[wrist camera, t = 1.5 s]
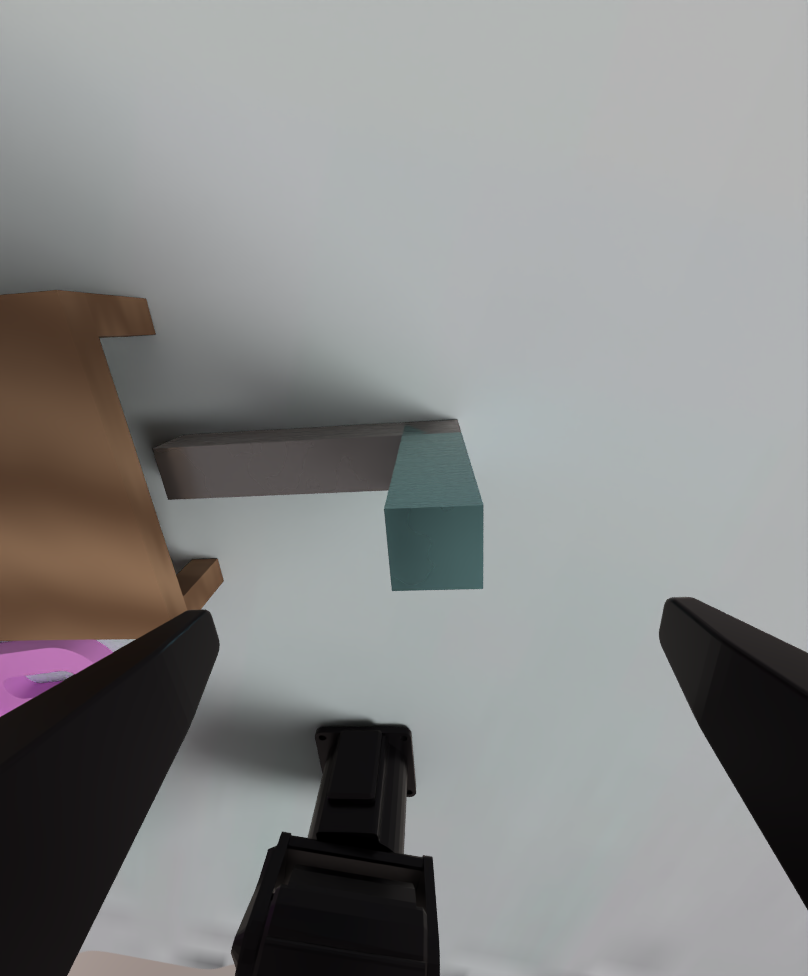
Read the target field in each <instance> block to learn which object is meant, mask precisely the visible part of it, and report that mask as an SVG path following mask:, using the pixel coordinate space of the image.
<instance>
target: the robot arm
mask: <svg viewBox="0 0 808 976" xmlns="http://www.w3.org/2000/svg"><path fill="white" fill-rule="evenodd" d="M659 639H660V643H661V646H662V648H663V651H664V653H665V655H666V657H667V659H668V661H669V663H670V665H671V668H672V670H673V672H674V674H675V676H676V678H677V680H678V683H679V685H680V687H681V689H682V691H683V693H684V695H685V698H686V700H687V702H688V704H689V706H690V708H691V710H692V712H693V714H694V716H695V718H696V720H697V722H698V724H699V726H700V728H701V730H702V732H703V733H704V735H705V737H706V739H707V740H708V742H709V744H710V746H711V747H712V749H713V751H714V752H715V754H716V756H717V757H718V759H719V761H720V762H721V764H722V766H723V768H724V769H725V771H726V773H727V774H728V776H729V778H730V779H731V781H732V783H733V784H734V786H735V788H736V790H737V791H738V793H739V795H740V796H741V798H742V800H743V801H744V803H745V805H746V806H747V808H748V810H749V812H750V813H751V815H752V817H753V818H754V820H755V822H756V823H757V825H758V827H759V828H760V830H761V832H762V833H763V835H764V837H765V839H766V840H767V842H768V844H769V845H770V847H771V849H772V850H773V852H774V854H775V855H776V857H777V859H778V861H779V862H780V864H781V866H782V867H783V869H784V871H785V872H786V874H787V876H788V877H789V879H790V881H791V883H792V884H793V886H794V888H795V889H796V891H797V893H798V894H799V896H800V898H801V899H802V901H803V903H804V905H805V906H806V908H807V910H808V653H807V652H805V651H803V650H801V649H799V648H797V647H794V646H792V645H790V644H788V643H786V642H784V641H782V640H780V639H778V638H776V637H774V636H772V635H770V634H767V633H765V632H763V631H761V630H759V629H757V628H755V627H753V626H751V625H749V624H747V623H745V622H743V621H741V620H738V619H736V618H734V617H732V616H730V615H728V614H726V613H724V612H722V611H720V610H718V609H716V608H714V607H711V606H709V605H707V604H705V603H703V602H701V601H699V600H697V599H695V598H692V597H672V598H669V599H667V600H666V602H665V604H664V609H663V614H662V619H661V624H660V629H659ZM219 646H220V644H219V638H218V635H217V631H216V628H215V625H214V622H213V618H212V615H211V613H210V612H209V611H208V610H188V611H185V612H183V613H181V614H180V615H178V616H176V617H174V618H173V619H171V620H169V621H167V622H166V623H164V624H162V625H160V626H159V627H157V628H155V629H153V630H152V631H150V632H148V633H146V634H145V635H143V636H141V637H139V638H138V639H136V640H134V641H132V642H131V643H129V644H127V645H125V646H124V647H122V648H120V649H118V650H117V651H115V652H113V653H111V654H110V655H108V656H106V657H104V658H102V659H101V660H99V661H97V662H95V663H94V664H92V665H90V666H88V667H87V668H85V669H83V670H81V671H80V672H78V673H76V674H74V675H73V676H71V677H69V678H67V679H66V680H64V681H62V682H60V683H59V684H57V685H55V686H53V687H52V688H50V689H48V690H46V691H45V692H43V693H41V694H39V695H38V696H36V697H34V698H32V699H31V700H29V701H27V702H25V703H24V704H22V705H20V706H18V707H17V708H15V709H13V710H11V711H10V712H8V713H6V714H4V715H3V716H1V717H0V976H67V975H68V973H69V971H70V969H71V967H72V965H73V963H74V961H75V959H76V957H77V955H78V953H79V951H80V949H81V947H82V945H83V943H84V941H85V939H86V937H87V935H88V933H89V930H90V928H91V926H92V924H93V922H94V920H95V918H96V916H97V914H98V912H99V910H100V908H101V906H102V904H103V902H104V900H105V898H106V896H107V894H108V892H109V890H110V888H111V886H112V884H113V882H114V880H115V878H116V876H117V874H118V872H119V870H120V868H121V866H122V864H123V862H124V860H125V858H126V856H127V853H128V851H129V849H130V847H131V845H132V843H133V841H134V839H135V837H136V835H137V833H138V831H139V829H140V827H141V825H142V823H143V821H144V819H145V817H146V815H147V813H148V811H149V809H150V807H151V805H152V803H153V801H154V799H155V797H156V795H157V793H158V791H159V789H160V787H161V785H162V783H163V781H164V779H165V777H166V774H167V772H168V770H169V768H170V766H171V764H172V762H173V760H174V758H175V756H176V754H177V752H178V750H179V748H180V746H181V744H182V742H183V740H184V738H185V736H186V734H187V731H188V729H189V727H190V725H191V722H192V720H193V718H194V715H195V713H196V710H197V708H198V705H199V702H200V700H201V697H202V695H203V692H204V689H205V687H206V684H207V681H208V679H209V676H210V674H211V671H212V668H213V666H214V663H215V661H216V658H217V655H218V652H219ZM315 740H316V744H317V749H318V754H319V758H320V763H321V768H322V773H323V775H322V779H321V784H320V788H319V792H318V796H317V801H316V805H315V809H314V813H313V817H312V822H311V826H310V830H309V834H308V838H304V837H298V836H292V835H291V833H287V832H282V833H281V836H280V839H279V842H278V844H277V846H275V847H272V848H270V849H268V852H267V855H266V859H265V862H264V865H263V868H262V872H261V875H260V878H259V881H258V884H257V887H256V889H255V892H254V894H253V896H252V899H251V901H250V903H249V906H248V908H247V910H246V913H245V915H244V917H243V920H242V922H241V924H240V927H239V929H238V931H237V934H236V936H235V939H234V942H233V946H232V950H231V955H232V958H233V961H234V964H235V967H236V973H235V976H440V950H439V934H438V921H437V908H436V895H435V882H434V869H433V858H432V857H431V856H425V855H423V857H418V856H412V855H406V854H404V839H405V818H406V797H412V796H414V795H415V794H416V779H415V768H414V756H413V745H412V733H411V731H410V730H409V729H408V728H404V727H320V728H318V729H317V731H316V735H315Z"/></svg>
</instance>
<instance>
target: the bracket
mask: <svg viewBox="0 0 808 976" xmlns="http://www.w3.org/2000/svg"><path fill="white" fill-rule="evenodd" d="M111 653H113V652H112V651H111V650H110V649H109V648H107V647H106V646H105V645H103V644H101V643H100V642H98V641H96V640H28V641H10V642H3V643H0V717H1V716H3V715H4V714H6V713H8V712H10V711H11V710H13V709H15V708H17V707H18V706H20V705H22V704H24V703H25V702H27V701H29V700H31V699H32V698H34V697H36V696H38V695H39V694H41V693H43V692H45V691H46V690H48V689H50V688H52V687H53V686H55V685H57V684H59V683H60V682H62V681H56V682H49V683H35V682H33V681H31V680H29V679H28V678H26V677H25V676H26V675H34V674H41V673H49V672H57V671H68V672H71V673H73V674H76V673H78V672H80V671H81V670H83V669H85V668H87V667H88V666H90V665H92V664H94V663H95V662H97V661H99V660H101V659H102V658H104V657H106V656H108V655H110V654H111Z"/></svg>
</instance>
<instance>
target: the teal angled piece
mask: <svg viewBox="0 0 808 976" xmlns="http://www.w3.org/2000/svg"><path fill="white" fill-rule="evenodd" d="M152 449H153V452H154V455H155V459H156V462H157V465H158V468H159V472H160V475H161V478H162V481H163V485H164V488H165V491H166V494H167V498H168V500H172V499H195V498H219V497H242V496H266V495H290V494H313V493H337V492H360V491H384V490H389V491H388V495H387V499H386V503H385V508H384V513H385V523H386V534H387V544H388V555H389V565H390V576H391V586H392V591H409V590H453V589H483V502H482V499H481V496H480V492H479V489H478V486H477V482H476V479H475V476H474V473H473V469H472V466H471V463H470V459H469V456H468V453H467V449H466V446H465V443H464V440H463V436H462V433H461V430H460V426H459V423H458V420H457V419H456V420H438V421H420V422H402V423H384V424H366V425H348V426H330V427H312V428H294V429H276V430H258V431H240V432H222V433H204V434H186V435H182V436H179V437H177V438H175V439H173V440H170V441H168V442H166V443H164V444H161V445H159V446H157V447H155V448H152Z"/></svg>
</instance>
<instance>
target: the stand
mask: <svg viewBox="0 0 808 976" xmlns="http://www.w3.org/2000/svg"><path fill="white" fill-rule="evenodd" d="M155 334H156V333H155V330H154V326H153V322H152V319H151V315H150V311H149V308H148V304H147V301H146V299H144V298H133V297H123V296H113V295H102V294H92V293H82V292H71V291H61V290H52V291H41V292H29V293H18V294H6V295H0V641H28V640H99V639H138V638H139V637H141V636H143V635H145V634H146V633H148V632H150V631H152V630H153V629H155V628H157V627H159V626H160V625H162V624H164V623H166V622H167V621H169V620H171V619H173V618H174V617H176V616H178V615H180V614H181V613H183V612H185V611H188V610H201V608H202V607H203V606H204V605H205V603H206V602H207V601H208V600H209V598H210V597H211V596H212V595H213V594H214V592H215V591H216V590H217V589H218V587H219V586H220V585H221V584H222V582H223V581H224V580H223V577H222V573H221V569H220V566H219V562H218V559H192V560H191V561H190V562H189V563H188V564H187V565H186V566H185V567H184V568H183V569H182V570H181V571H180V572H179V573H178V574H177V575H176V573H175V570H174V567H173V564H172V561H171V558H170V555H169V552H168V549H167V546H166V543H165V540H164V536H163V533H162V530H161V527H160V524H159V521H158V518H157V515H156V512H155V509H154V506H153V503H152V499H151V496H150V493H149V490H148V487H147V484H146V481H145V478H144V475H143V472H142V469H141V466H140V462H139V459H138V456H137V453H136V450H135V447H134V444H133V441H132V438H131V435H130V432H129V429H128V426H127V422H126V419H125V416H124V413H123V410H122V407H121V404H120V401H119V398H118V395H117V392H116V389H115V385H114V382H113V379H112V376H111V373H110V370H109V367H108V364H107V361H106V358H105V355H104V352H103V348H102V345H101V342H100V339H99V338H104V337H128V336H142V335H155Z"/></svg>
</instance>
